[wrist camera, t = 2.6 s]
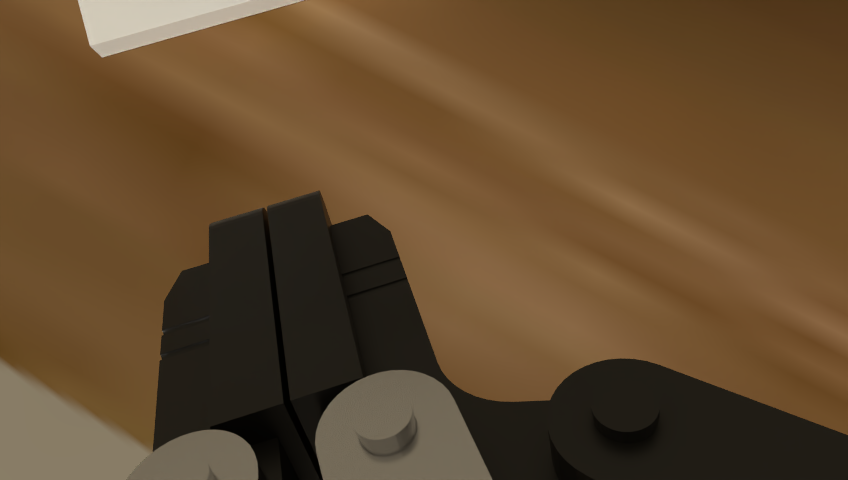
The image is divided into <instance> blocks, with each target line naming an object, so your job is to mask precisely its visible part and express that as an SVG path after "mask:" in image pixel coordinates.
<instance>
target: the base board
mask: <svg viewBox="0 0 848 480" xmlns="http://www.w3.org/2000/svg"><path fill="white" fill-rule="evenodd" d="M300 1H304V0H78V2H79V6H80V10H81V14H82V17H83V21H84V25H85V29H86V32H87V36H88V40H89V44H90V46H91V47H92V48H93V49H94V50H95V51H96V52H97V53H98V54H99V55H100V56H101V57H105V56H109V55H112V54H116V53H119V52H123V51H126V50H130V49H134V48H137V47H141V46H144V45H148V44H151V43H155V42H158V41H162V40H165V39H169V38H173V37H176V36H180V35H183V34H187V33H190V32H194V31H197V30H201V29H204V28H208V27H211V26H215V25H219V24H222V23H226V22H229V21H233V20H236V19H240V18H243V17H247V16H250V15H254V14H258V13H261V12H265V11H268V10H272V9H275V8H279V7H282V6H286V5H289V4H293V3H296V2H300Z"/></svg>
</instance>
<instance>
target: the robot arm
mask: <svg viewBox="0 0 848 480" xmlns="http://www.w3.org/2000/svg"><path fill="white" fill-rule="evenodd" d="M162 331H163V334H164V335H163V336H162V339H161V352H160V355H161V357H162V360H160V365H159V378H158V391H157V405H156V418H155V431H154V444H153V452H152V453H151V454H150V455H149V456H147V457H146V458H145V459H144V460H143V461H142V462H141V463H140V464H139V465H138V466H137V467H136V468H135V469H134V471H133V472H132V473H131V474H130V476H129V477H128V478H127V480H848V435H846V434H843V433H840V432H838V431H835V430H832V429H829V428H827V427H824V426H821V425H819V424H816V423H813V422H811V421H808V420H805V419H803V418H800V417H797V416H795V415H792V414H789V413H787V412H784V411H781V410H779V409H776V408H773V407H771V406H768V405H765V404H762V403H760V402H757V401H754V400H752V399H749V398H746V397H744V396H741V395H738V394H736V393H733V392H730V391H728V390H725V389H722V388H720V387H717V386H714V385H712V384H709V383H706V382H703V381H701V380H698V379H695V378H693V377H690V376H687V375H685V374H682V373H679V372H677V371H674V370H671V369H669V368H666V367H663V366H661V365H658V364H654V363H651V362H648V361H642V360H636V359H610V360H604V361H600V362H595V363H593V364H590V365H587V366H585V367H583V368H581V369H579V370H577V371H575V372H574V373H572V374H571V375H570V376H568V377H567V378H566V379H565V380H564V381H563V382H562V383H561V384H560V385H559V386H558V387H557V389H556V391H555V392H554V394H553V395H552V397H551V400H550V401H526V402H499V401H492V400H486V399H483V398H479V397H476V396H473V395H471V394H469V393H467V392H464V391H463V390H461V389H460V388H458V387H457V386H455V385H454V384H453V383H452V382H451V381H449V380H448V379H447V377H446V376H445V375H444V374H443V372H442V371H441V369H440V367H439V365H438V363H437V360H436V357H435V355H434V352H433V349H432V346H431V343H430V341H429V338H428V335H427V332H426V329H425V327H424V324H423V321H422V318H421V316H420V313H419V310H418V307H417V304H416V302H415V299H414V296H413V293H412V291H411V288H410V285H409V283H408V280H407V277H406V274H405V271H404V268H403V265H402V263H401V261H400V257H399V254H398V252H397V249H396V246H395V243H394V240H393V238H392V235H391V232H390V231H389V230H388V229H386V228H385V227H384V226H382V225H381V224H380V223H378V222H377V221H376V220H374V219H373V218H372V217H370V216H369V215H364V216H361V217H358V218H354V219H351V220H348V221H344V222H341V223H338V224H335V225H332V224H331V221H330V218H329V215H328V212H327V209H326V206H325V203H324V201H323V198H322V195H321V193H320V191H316V192H313V193H310V194H306V195H303V196H300V197H296V198H293V199H290V200H286V201H283V202H280V203H276V204H273V205H270V206H268V207H267V211H266V210H265V208H260V209H257V210H254V211H250V212H247V213H244V214H240V215H237V216H234V217H230V218H227V219H224V220H220V221H217V222H214V223H211V224H210V226H209V263H207V264H204V265H200V266H197V267H194V268H190V269H187V270H184V271H182V272H181V273H180V275H179V277H178V279H177V280H176V282H175V284H174V285H173V287H172V289H171V290H170V292H169V294H168V296H167V297H166V299H165V301H164V312H163V326H162Z"/></svg>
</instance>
